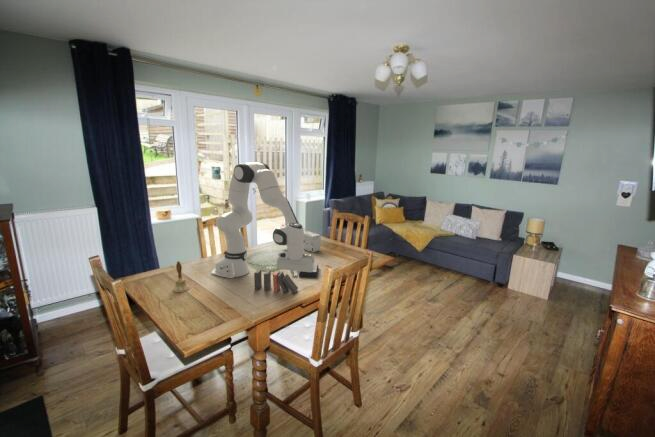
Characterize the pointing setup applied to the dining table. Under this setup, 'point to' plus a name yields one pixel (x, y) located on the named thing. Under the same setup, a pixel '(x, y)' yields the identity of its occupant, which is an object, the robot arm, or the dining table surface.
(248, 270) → the robot arm
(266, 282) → the domino
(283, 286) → the domino
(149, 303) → the dining table surface
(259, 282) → the domino
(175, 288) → the hand bell
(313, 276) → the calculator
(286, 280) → the domino
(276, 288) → the domino
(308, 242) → the stereo radio cassette player
